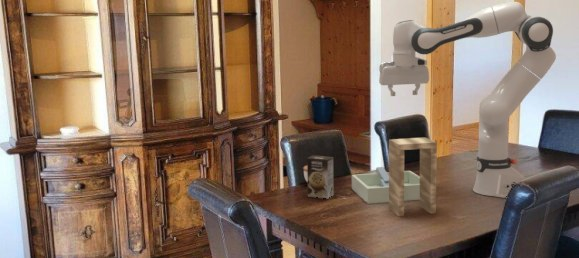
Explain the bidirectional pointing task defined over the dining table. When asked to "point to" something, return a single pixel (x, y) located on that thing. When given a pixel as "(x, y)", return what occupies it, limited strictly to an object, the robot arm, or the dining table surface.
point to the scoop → (383, 176)
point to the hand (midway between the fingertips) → (404, 95)
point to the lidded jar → (305, 173)
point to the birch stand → (426, 173)
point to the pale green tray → (374, 193)
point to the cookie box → (320, 176)
